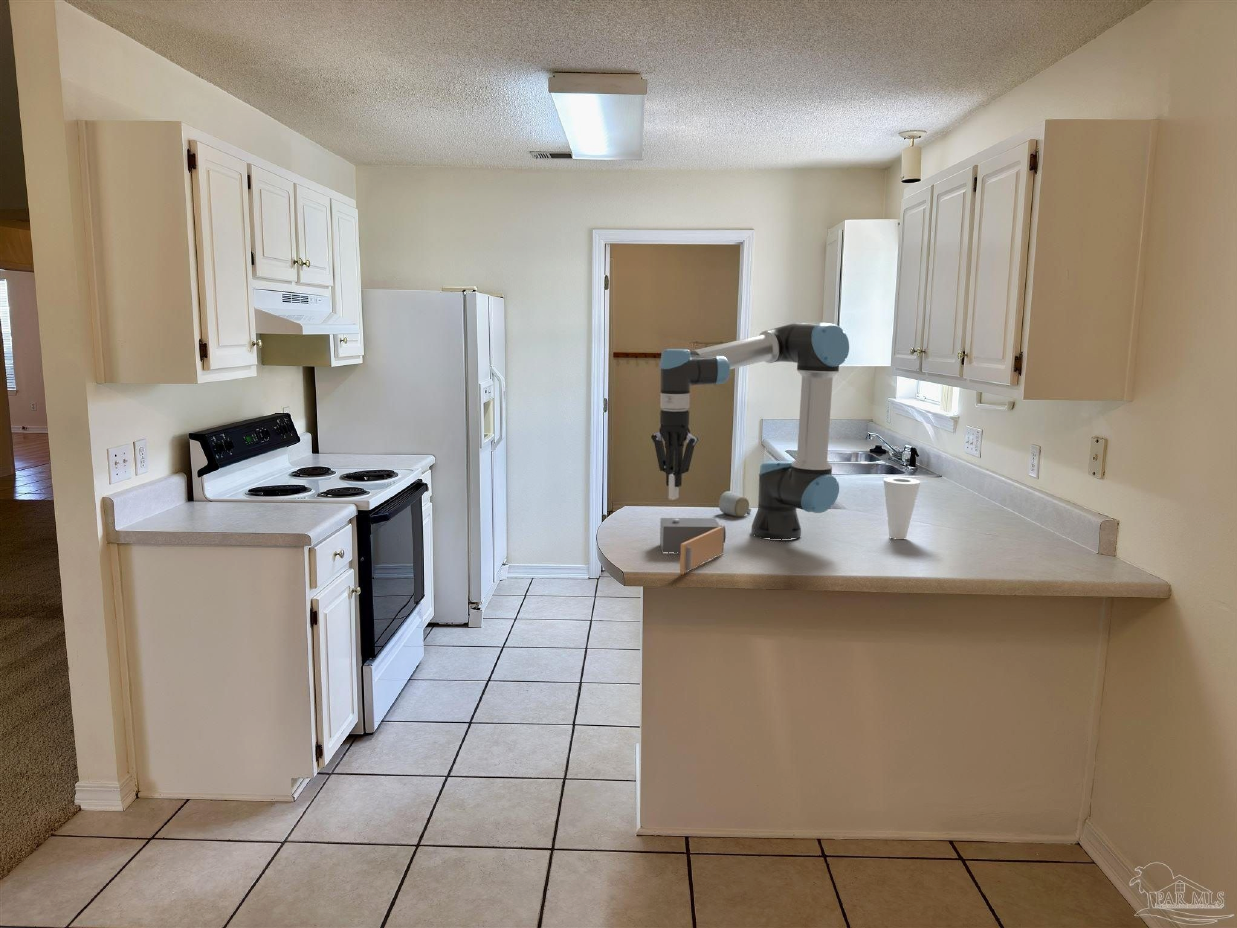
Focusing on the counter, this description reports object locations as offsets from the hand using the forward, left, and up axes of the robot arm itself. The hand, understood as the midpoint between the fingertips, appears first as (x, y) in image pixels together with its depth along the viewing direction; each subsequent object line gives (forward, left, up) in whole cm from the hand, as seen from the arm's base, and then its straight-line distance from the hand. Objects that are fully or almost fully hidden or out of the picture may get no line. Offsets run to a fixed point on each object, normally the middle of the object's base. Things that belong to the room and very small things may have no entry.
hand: (673, 498), depth 220 cm
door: (-9, -2, -18) cm, 21 cm away
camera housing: (-7, -17, -19) cm, 26 cm away
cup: (-73, -31, -19) cm, 81 cm away
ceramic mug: (-28, -61, -19) cm, 70 cm away
